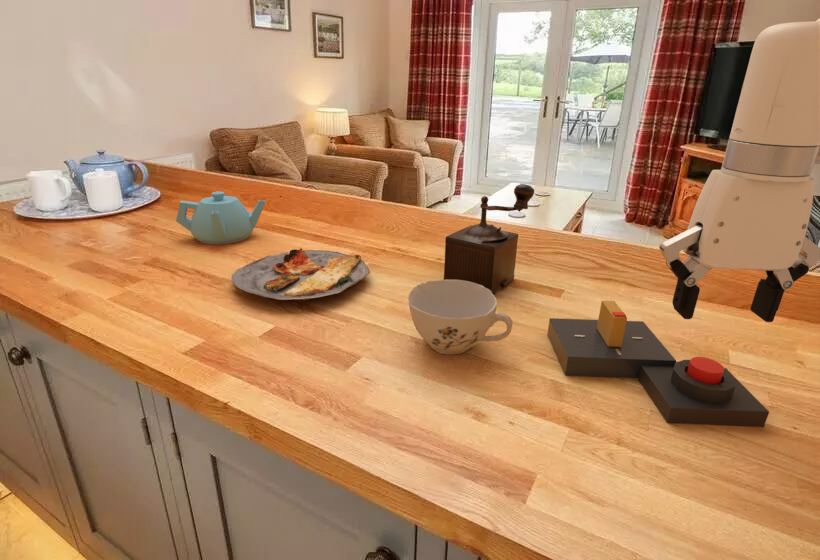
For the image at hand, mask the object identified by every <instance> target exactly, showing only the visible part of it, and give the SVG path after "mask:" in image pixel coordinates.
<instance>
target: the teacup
mask: <svg viewBox="0 0 820 560" xmlns="http://www.w3.org/2000/svg"><path fill="white" fill-rule="evenodd" d="M407 298H408V299H407V300H408V306H409V312H410V316H411V320H412V322H413V326H414V327H415V329H416V331H417V332H418V334H419V335H420V337H421V338H422V339H423V340H424V341H425V343H426V344H428V345H429V346H430V348H431V349H432V350H433V351H435V352H437V353H439V354H442V355H459V354H463V353H465V352H467V351H468V350H469V349H471V348H472V347H474V346H475V345H477V344H478V343H481V342H498V341H502V340H504V339H506V338H507V337H509V335H510V334H511V333H512V330H513V320H512V318H511V316H510V315H508V314H506V313H502V312H499V313H496V312H497V309H498V308H497V307H498V298H497V297H496V296H495V294H492V292H491V291H490V290H489V289H487V288H485V287H484V286H482V285H479V284H476V283H472V282H469V281H463V280H444V279H440V280H429V281H427V282H425V283H424V282H422V283H420V284H417V285H416V286H414V287H413V288H412V290H410V292H409V294H408V297H407ZM497 322H503V323H505V325H506V330H505V331H503V332H501V333H500V334H495V335H487V333H488V331H489V329H490V328H492V327H493V326H494V325H495V324H496V323H497Z"/></svg>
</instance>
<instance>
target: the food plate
mask: <svg viewBox="0 0 820 560" xmlns="http://www.w3.org/2000/svg"><path fill="white" fill-rule="evenodd" d="M370 273H371V271H370V268H369V266H367V264H366V262H365V261H364V260H362V256H361V255H360V254H352V255H350V254H347V253H342V252H340V251H333V250H332V251H331V250H323V249H322V250H320V249H318V250H314V249H311V250H310V249H309V250H304V249H303V248H301V247H300V248H299V249H291V250H289V252H280V253H277V254H273V255H266V256H264V257H261V258H259V259H257V260H254V261H252V262H250V263H248V264H246V265H244V266H242V267H239V268H237V269H236V270H235V271H234V272H233V273H232V274H231V282H232V283H233V284H234V286H235V287H236V288H238V289H240V291H244V292H245V293H248V294H254V295H255V296H256V295H257V296H260V298H270V299H275V300H279V301H280V300H281V301H283V300H284V301H288V300H289V301H290V300H297V301H299V300H302V301H306V300H307V301H309V300H310V299H315V298H322V297H326V296H332V295H336V294H340V293H342V292H343V291H345V290H347V289H348V288H349V287H353V286H355V285H356V284H357V283H359V282H360V281H362V280H363V279H365V277H367V276H369V274H370Z"/></svg>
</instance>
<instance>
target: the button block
mask: <svg viewBox="0 0 820 560" xmlns="http://www.w3.org/2000/svg"><path fill="white" fill-rule="evenodd" d="M690 360H691V359H681V360H679V361H676V363H675V365H674V366H656V365H641V366H640V370H639V374H638V379H637V380H638V382H639V383H640V385H641V386H642V388H643V389H644V391H645V393H646V394H647V396H648V397H649V398H650V401H652V403H653V404H654V406H655V408H656V409H657V410H658V412H659V414H660V415H661V416H662V418H663V420H665V422H666V424H680V425H681V424H683V425H702V426H703V425H706V426H727V427H730V426H731V427H754V428H764V427H765V425H766V422H767V419H768V417H769V414H770V411H769V410H768V409H767V408H766V407H765V406H764V405H763V403H761V402H760V400H758V399H757V398H756V397H755V396H754V395H753V393H751V392H750V391H749V389H747V388H746V387H745V386H744V385H743V384H742V382H740V381H739V380H738V379H737V378H736V377H735V376H734V374H732V372H730V370H729V369H728V368H726V367H724V373H723V376H722V379H721V382H720V383H719V384H706V383H703V382H699V381H697V380H695V379H693V378H691V377H689V376H688V374H687V370H688V366H689V362H690Z"/></svg>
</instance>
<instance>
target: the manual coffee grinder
mask: <svg viewBox="0 0 820 560" xmlns="http://www.w3.org/2000/svg"><path fill="white" fill-rule="evenodd" d="M534 194H535V189H534V188H533V187H532V186H531V185H530V184H525V183H520V184H517V185H516V186H515V187H514V189H513V195H514V196H515V199H516V200H515V203H514V204H513V206H503V205H502V206H501V205H489V203H488V202H489V198H488V196H486V195H483V196H481V198H480V202H481V203H480V206H479V208H481V215H480V222H479V223H477V224H471V225H469V226H466V227H463V228H462V229H460V230H457V231H455V232H453V233H450V234H448V235H446V236H445V247H444V266H443V267H444V268H443V270H444V271H443V280H463V281H469V282H472V283H476V284H479V285H482V286H484V287H485V288H487V289H489V290H490V291H491V292H492V294H493V295H495V294H496V293H498V292H500V291H501V290H503V289H505V288H506V287H507V286H508V285H509V284H510V283H512V282H513V280H514V278H515V268H516V263H517V252H518V251H517V250H518V241H519V233H516V232H512V231H507V230H502V227H497V226H495V225H494V224H493V223H491V224H490V223H487V212H488V211H499V212H500V211H501V212H513V211H518V213H519V212H521V211H523V210H528V209H529V202H530V200H531V199H533V197H534Z"/></svg>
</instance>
